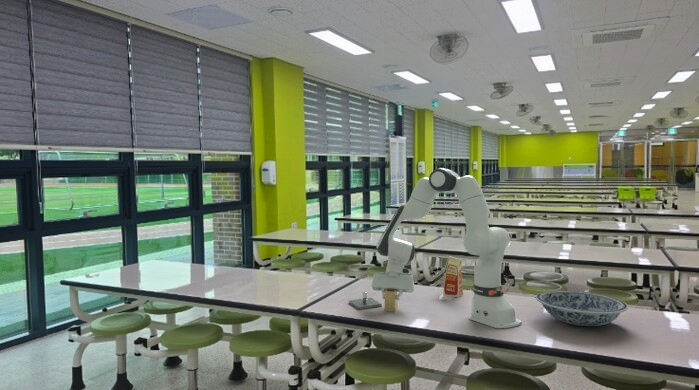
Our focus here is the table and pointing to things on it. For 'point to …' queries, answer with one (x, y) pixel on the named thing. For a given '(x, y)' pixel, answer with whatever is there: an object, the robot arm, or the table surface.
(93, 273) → the table surface
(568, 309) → the ceramic bowl
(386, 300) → the sleeve
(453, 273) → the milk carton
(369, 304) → the grey peg base
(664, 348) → the table surface
